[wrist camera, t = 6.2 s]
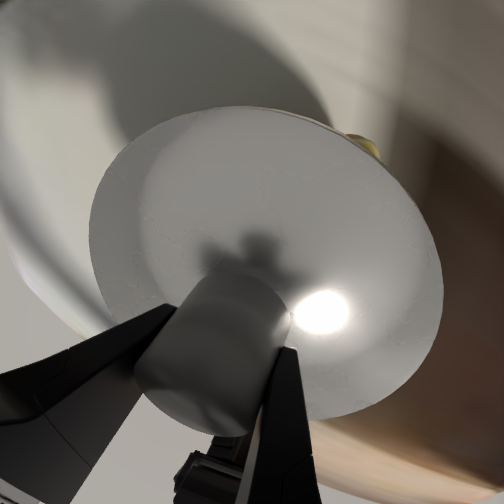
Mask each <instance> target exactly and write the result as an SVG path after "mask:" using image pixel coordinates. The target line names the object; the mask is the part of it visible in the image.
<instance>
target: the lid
mask: <svg viewBox="0 0 504 504" xmlns="http://www.w3.org/2000/svg"><path fill="white" fill-rule="evenodd" d="M89 246H90V255H91V261H92V265H93V270H94V274H95V277H96V280H97V283H98V286H99V289H100V291H101V293H102V296H103V298H104V300H105V302H106V304H107V306H108V308H109V310H110V311H111V313H112V315H113V317H114V318H115V320H116V322H117V323H118V324H121V323H123V322H126V321H128V320H130V319H132V318H134V317H136V316H138V315H140V314H143V313H145V312H147V311H149V310H151V309H153V308H155V307H157V306H160V305H162V304H164V303H169V304H171V305H174V306H176V307H178V309H177V310H176V311H175V313H174V314H173V315H172V317H171V318H170V319H169V320H168V322H167V323H166V324H165V326H164V327H163V328H162V330H161V331H160V332H159V333H158V335H157V336H156V337H155V339H154V340H153V341H152V343H151V344H150V345H149V346H148V348H147V349H146V350H145V352H144V353H143V354H142V356H141V357H140V358H139V360H138V361H137V362H136V364H135V365H134V371H133V372H134V377H135V380H136V382H137V384H138V386H139V388H140V389H141V391H142V392H143V393H144V394H145V396H146V397H147V398H148V399H149V400H150V401H151V402H152V403H153V404H154V405H155V406H156V407H158V408H159V409H160V410H161V411H163V412H164V413H165V414H167V415H168V416H170V417H171V418H173V419H175V420H176V421H178V422H180V423H182V424H183V425H186V426H188V427H190V428H192V429H195V430H197V431H200V432H203V433H206V434H210V435H215V436H221V437H238V436H243V435H245V434H247V433H249V432H250V431H251V430H252V429H253V427H254V424H255V422H256V419H257V417H258V414H259V412H260V409H261V407H262V404H263V401H264V398H265V395H266V391H267V388H268V385H269V382H270V379H271V376H272V373H273V371H274V368H275V365H276V363H277V360H278V357H279V354H280V352H281V349H282V347H283V346H284V345H286V346H289V347H292V348H295V349H296V350H297V352H298V358H299V364H300V371H301V377H302V384H303V390H304V397H305V404H306V410H307V417H308V421H311V420H321V419H329V418H334V417H338V416H343V415H347V414H350V413H353V412H356V411H359V410H362V409H364V408H366V407H368V406H370V405H373V404H375V403H377V402H379V401H380V400H382V399H383V398H385V397H387V396H388V395H390V394H392V393H393V392H394V391H395V390H397V389H398V388H399V387H400V386H401V385H403V384H404V383H405V382H406V381H407V380H408V379H409V378H410V377H411V376H412V375H413V373H414V372H415V371H416V370H417V369H418V368H419V366H420V365H421V363H422V362H423V360H424V359H425V357H426V356H427V354H428V352H429V350H430V348H431V346H432V344H433V341H434V339H435V337H436V335H437V331H438V327H439V323H440V319H441V315H442V307H443V290H444V289H443V279H442V271H441V264H440V260H439V257H438V253H437V250H436V247H435V244H434V241H433V238H432V235H431V232H430V230H429V227H428V225H427V223H426V221H425V219H424V217H423V215H422V213H421V212H420V210H419V208H418V206H417V204H416V202H415V200H414V199H413V198H412V196H411V195H410V194H409V192H408V191H407V190H406V188H405V187H404V186H403V184H402V183H401V182H400V180H399V179H398V178H397V177H396V175H395V174H394V173H393V172H392V171H390V170H389V169H388V168H387V167H386V166H385V165H384V164H383V163H382V162H381V161H380V160H379V159H378V158H377V157H376V156H375V155H373V154H372V153H371V152H370V151H368V150H367V149H366V148H364V147H363V146H361V145H360V144H358V143H357V142H355V141H354V140H352V139H351V138H349V137H348V136H346V135H345V134H343V133H341V132H339V131H337V130H335V129H333V128H331V127H329V126H327V125H325V124H322V123H320V122H318V121H316V120H314V119H311V118H308V117H304V116H301V115H298V114H294V113H291V112H287V111H283V110H280V109H272V108H264V107H256V106H226V107H215V108H210V109H205V110H201V111H196V112H192V113H188V114H183V115H179V116H177V117H174V118H172V119H169V120H167V121H165V122H162V123H160V124H158V125H155V126H154V127H152V128H150V129H149V130H147V131H146V132H144V133H143V134H141V135H140V136H138V137H137V138H135V139H134V140H133V141H132V142H131V143H130V144H128V145H127V146H126V147H125V148H124V149H123V150H122V151H121V152H120V153H119V154H118V155H117V157H116V158H115V159H114V161H113V162H112V163H111V165H110V166H109V167H108V169H107V170H106V172H105V174H104V176H103V178H102V180H101V182H100V184H99V186H98V188H97V191H96V194H95V197H94V200H93V204H92V208H91V215H90V221H89Z"/></svg>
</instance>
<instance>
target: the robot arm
mask: <svg viewBox="0 0 504 504" xmlns="http://www.w3.org/2000/svg"><path fill="white" fill-rule="evenodd" d="M177 309H178V307H176V306H174V305H171V304H169V303H164V304H162V305H160V306H157V307H155V308H153V309H151V310H149V311H147V312H145V313H143V314H140V315H138V316H136V317H134V318H132V319H130V320H128V321H126V322H123V323H121V324H119V325H117V326H115V327H113V328H111V329H109V330H106V331H104V332H102V333H100V334H98V335H96V336H94V337H91V338H89V339H87V340H85V341H83V342H81V343H79V344H77V345H74V346H72V347H70V348H69V349H66V350H63V351H61V352H59V353H57V354H54V355H52V356H50V357H48V358H45V359H43V360H40V361H37V362H34V363H32V364H29V365H26V366H23V367H20V368H17V369H14V370H11V371H8V372H5V373H2V374H0V504H38V503H39V501H41V502H43V503H45V504H70V502H71V501H72V499H73V498H74V496H75V495H76V493H77V492H78V490H79V489H80V487H81V486H82V484H83V482H84V481H85V479H86V478H87V476H88V475H89V473H90V472H91V470H92V468H93V467H94V466H95V464H96V463H97V461H98V460H99V458H100V457H101V455H102V454H103V452H104V451H105V449H106V448H107V446H108V445H109V443H110V442H111V440H112V438H113V437H114V435H115V434H116V432H117V431H118V429H119V428H120V426H121V425H122V423H123V422H124V420H125V419H126V417H127V416H128V415H129V413H130V411H131V410H132V408H133V407H134V405H135V404H136V402H137V401H138V400H139V398H140V397H141V395H142V394H143V392H142V391H141V389H140V388H139V386H138V384H137V382H136V380H135V377H134V372H133V371H134V365H135V364H136V362H137V361H138V360H139V358H140V357H141V356H142V354H143V353H144V352H145V350H146V349H147V348H148V346H149V345H150V344H151V343H152V341H153V340H154V339H155V337H156V336H157V335H158V333H159V332H160V331H161V330H162V328H163V327H164V326H165V324H166V323H167V322H168V320H169V319H170V318H171V317H172V315H173V314H174V313H175V311H176V310H177ZM211 443H212V444H211V446H210V448H209V450H208V452H207V454H203V453H200V451H197V450H195V452H194V453H190V455H189V457H188V459H187V461H186V463H185V464H184V465H183V466H182V468H181V469H180V470H179V471H178V473H177V474H176V475H175V476H174V482H175V487H174V492H175V493H176V495H175V497H174V500H173V503H174V504H322V502H321V498H320V494H319V490H318V485H317V479H316V473H315V467H314V460H313V456H312V446H311V439H310V431H309V424H308V417H307V410H306V404H305V397H304V390H303V384H302V377H301V371H300V364H299V358H298V352H297V350H296V349H295V348H292V347H289V346H286V345H284V346H283V347H282V349H281V352H280V354H279V357H278V360H277V363H276V365H275V368H274V371H273V373H272V376H271V379H270V382H269V385H268V388H267V391H266V395H265V398H264V401H263V404H262V407H261V409H260V412H259V414H258V417H257V419H256V422H255V424H254V427H253V429H252V430H251V431H250V432H249V433H247V434H245V435H243V436H238V437H221V436H215V435H214V437H213V439H212V442H211Z"/></svg>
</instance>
